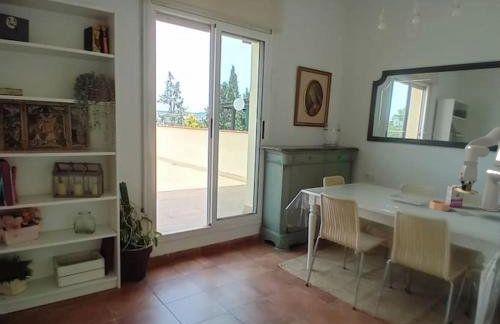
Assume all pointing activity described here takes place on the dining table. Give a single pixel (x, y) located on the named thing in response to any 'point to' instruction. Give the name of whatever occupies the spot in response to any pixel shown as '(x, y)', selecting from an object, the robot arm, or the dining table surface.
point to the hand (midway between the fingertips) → (466, 189)
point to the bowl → (439, 205)
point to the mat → (464, 213)
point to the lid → (466, 190)
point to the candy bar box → (454, 196)
